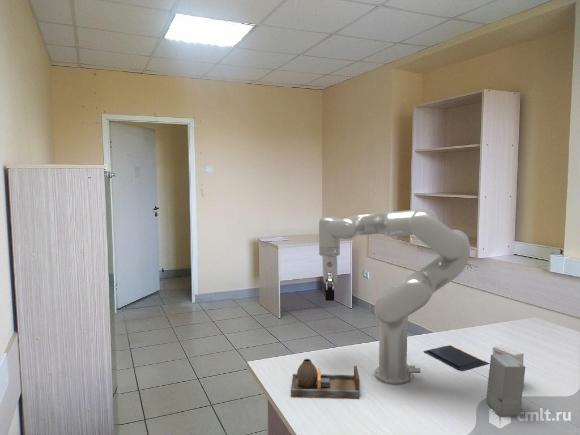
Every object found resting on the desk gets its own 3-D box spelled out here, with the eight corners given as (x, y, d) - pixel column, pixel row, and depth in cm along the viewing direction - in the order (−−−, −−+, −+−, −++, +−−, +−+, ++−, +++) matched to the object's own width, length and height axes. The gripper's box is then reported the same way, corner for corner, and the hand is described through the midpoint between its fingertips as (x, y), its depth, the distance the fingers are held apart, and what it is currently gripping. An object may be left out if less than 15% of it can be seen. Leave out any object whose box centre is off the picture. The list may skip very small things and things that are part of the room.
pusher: (329, 379, 149) (329, 368, 148) (330, 391, 140) (330, 380, 140) (317, 378, 149) (317, 368, 149) (317, 391, 140) (317, 380, 140)
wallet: (422, 348, 174) (451, 342, 180) (422, 352, 174) (451, 346, 180) (459, 368, 156) (490, 361, 162) (459, 373, 156) (490, 366, 162)
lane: (356, 380, 150) (356, 364, 149) (359, 398, 138) (359, 380, 137) (292, 379, 151) (292, 362, 151) (290, 397, 139) (290, 379, 139)
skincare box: (485, 402, 135) (487, 353, 134) (507, 401, 136) (509, 352, 134) (500, 417, 127) (502, 365, 125) (523, 416, 127) (526, 364, 126)
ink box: (523, 386, 145) (525, 352, 144) (513, 390, 143) (515, 355, 141) (500, 376, 153) (502, 343, 151) (491, 379, 150) (492, 346, 149)
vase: (316, 391, 141) (315, 365, 140) (295, 389, 142) (294, 363, 141) (319, 381, 148) (318, 356, 147) (299, 379, 149) (298, 355, 148)
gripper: (341, 255, 149) (340, 303, 151) (338, 246, 166) (338, 290, 168) (319, 255, 150) (319, 303, 151) (319, 246, 167) (319, 290, 169)
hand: (329, 296), depth 160 cm, fingers open, 9 cm apart
